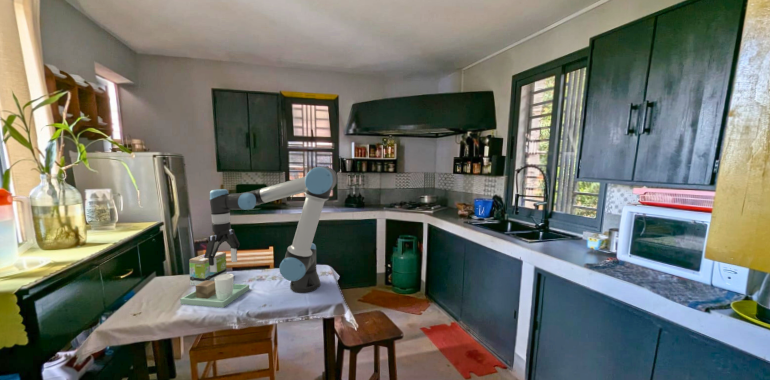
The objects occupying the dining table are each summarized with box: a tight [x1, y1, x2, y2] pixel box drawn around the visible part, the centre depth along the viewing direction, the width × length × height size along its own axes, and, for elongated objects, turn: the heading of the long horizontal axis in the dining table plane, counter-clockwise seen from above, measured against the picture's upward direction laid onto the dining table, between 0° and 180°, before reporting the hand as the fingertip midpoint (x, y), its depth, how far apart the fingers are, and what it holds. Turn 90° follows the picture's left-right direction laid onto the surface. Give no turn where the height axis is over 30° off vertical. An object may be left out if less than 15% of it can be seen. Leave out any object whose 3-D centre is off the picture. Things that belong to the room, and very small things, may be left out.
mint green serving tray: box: [179, 283, 250, 308], centre depth 135 cm, size 22×19×3 cm
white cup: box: [214, 273, 234, 300], centre depth 134 cm, size 8×8×10 cm
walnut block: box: [195, 281, 216, 299], centre depth 136 cm, size 6×6×6 cm
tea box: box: [188, 251, 228, 287], centre depth 153 cm, size 15×10×15 cm, turn 168°
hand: (224, 266), depth 133 cm, fingers open, 13 cm apart
